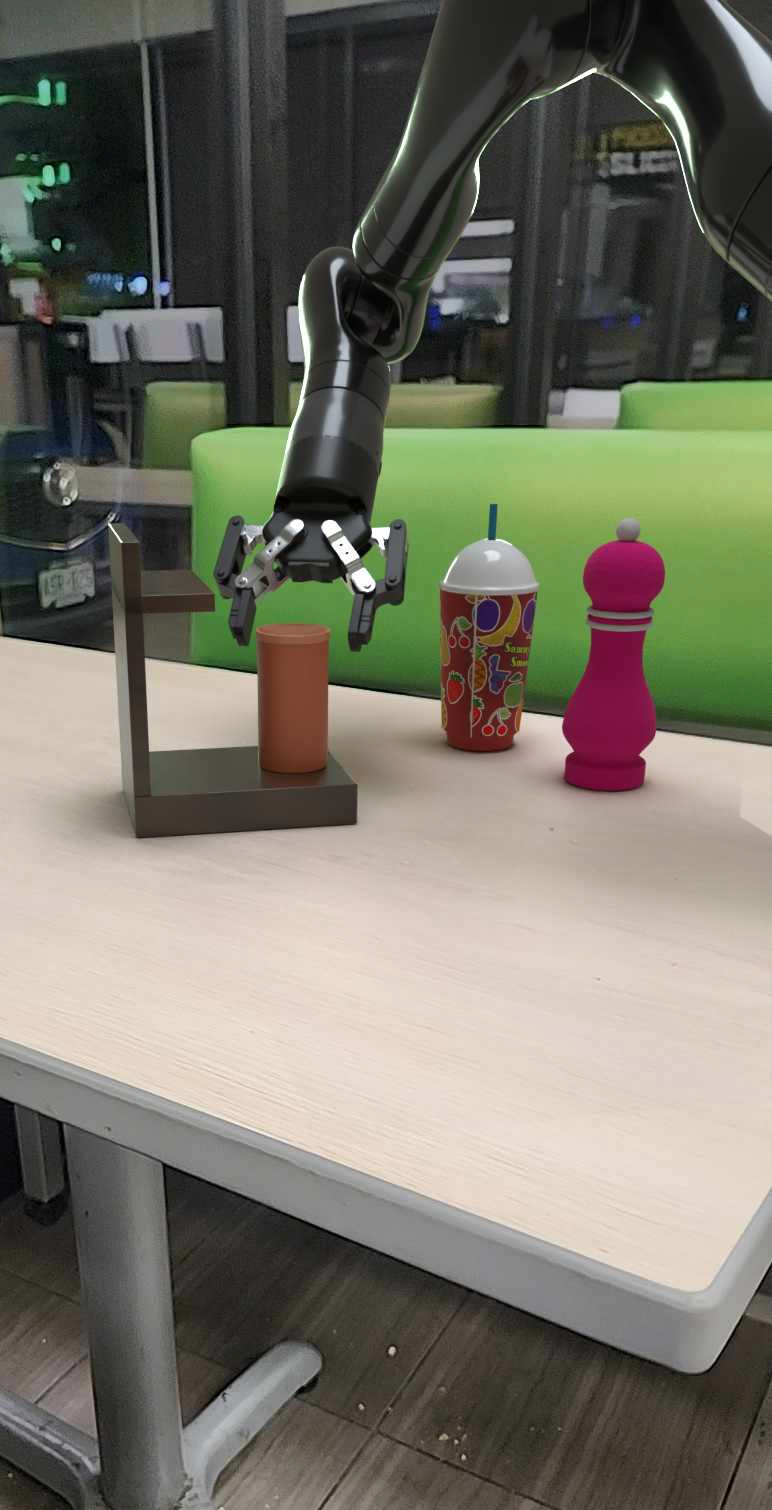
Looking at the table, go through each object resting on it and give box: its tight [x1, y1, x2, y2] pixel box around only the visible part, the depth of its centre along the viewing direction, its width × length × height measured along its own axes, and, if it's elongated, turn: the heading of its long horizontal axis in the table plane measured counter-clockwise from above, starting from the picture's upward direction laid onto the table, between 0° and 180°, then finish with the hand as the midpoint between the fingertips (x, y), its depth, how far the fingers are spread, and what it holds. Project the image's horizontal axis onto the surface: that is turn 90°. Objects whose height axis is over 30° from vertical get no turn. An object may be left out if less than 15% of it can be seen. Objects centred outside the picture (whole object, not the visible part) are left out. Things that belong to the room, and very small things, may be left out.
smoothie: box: [438, 503, 541, 752], centre depth 113 cm, size 8×8×20 cm
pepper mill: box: [561, 517, 666, 792], centre depth 102 cm, size 7×7×20 cm
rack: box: [107, 522, 359, 839], centre depth 96 cm, size 16×12×20 cm
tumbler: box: [255, 622, 331, 773], centre depth 98 cm, size 5×5×10 cm
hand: (297, 643), depth 97 cm, fingers open, 8 cm apart
